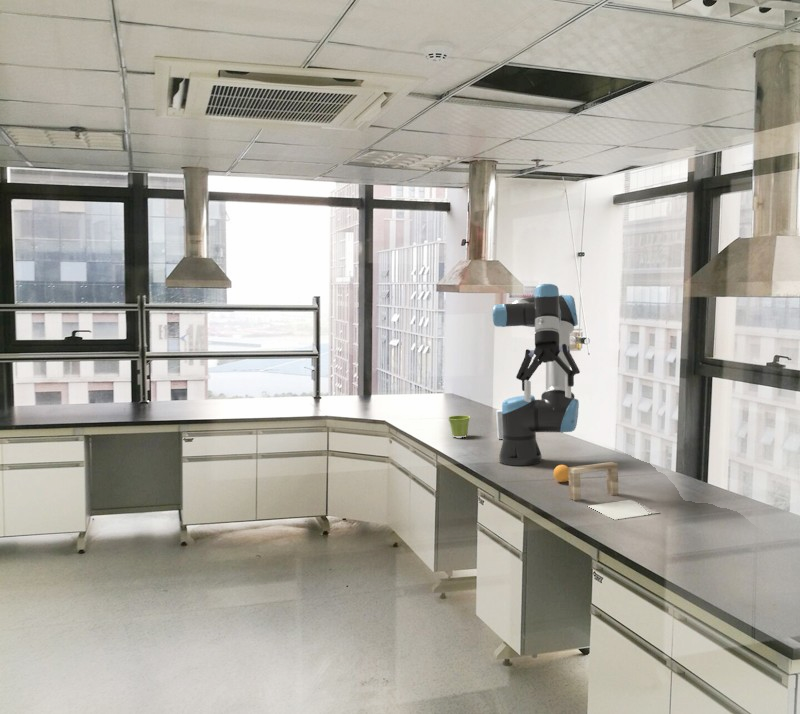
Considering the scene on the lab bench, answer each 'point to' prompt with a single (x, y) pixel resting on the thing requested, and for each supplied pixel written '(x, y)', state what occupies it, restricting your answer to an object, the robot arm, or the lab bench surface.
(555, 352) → the robot arm
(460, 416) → the plant pot
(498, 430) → the skincare box
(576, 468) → the bridge
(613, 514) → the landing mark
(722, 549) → the lab bench surface
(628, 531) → the lab bench surface
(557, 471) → the ball
